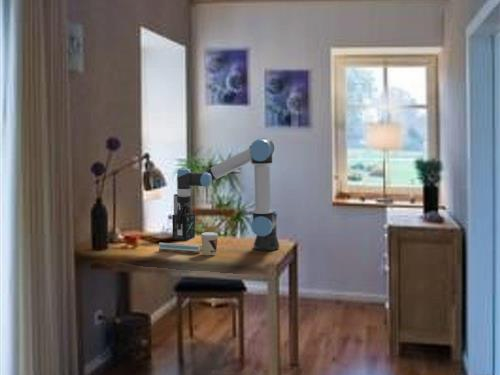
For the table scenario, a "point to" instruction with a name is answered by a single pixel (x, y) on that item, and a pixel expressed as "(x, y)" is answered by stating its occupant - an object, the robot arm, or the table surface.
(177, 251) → the shelf board
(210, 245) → the coffee cup
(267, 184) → the robot arm
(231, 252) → the table surface
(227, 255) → the table surface
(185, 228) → the tampon box
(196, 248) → the price rail
